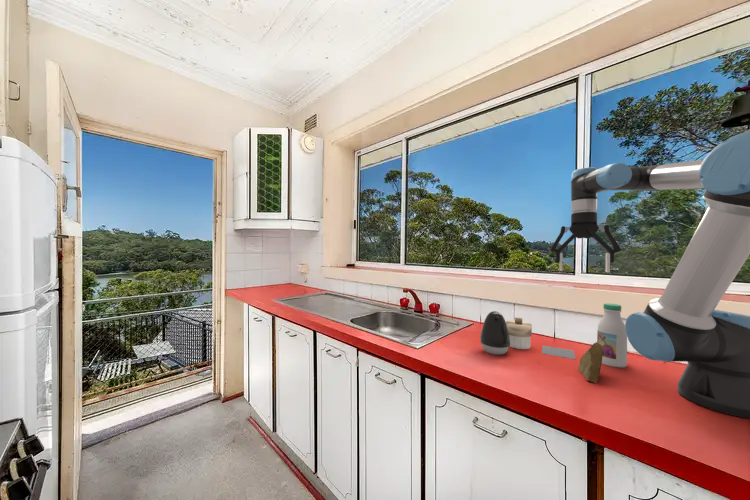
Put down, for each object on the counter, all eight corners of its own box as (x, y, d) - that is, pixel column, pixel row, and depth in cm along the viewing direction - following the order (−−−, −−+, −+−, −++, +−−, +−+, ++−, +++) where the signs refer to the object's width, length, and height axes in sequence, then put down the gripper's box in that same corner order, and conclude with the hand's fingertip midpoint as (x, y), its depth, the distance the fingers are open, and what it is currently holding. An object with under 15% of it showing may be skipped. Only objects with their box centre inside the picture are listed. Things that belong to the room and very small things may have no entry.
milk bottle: (615, 359, 98) (616, 302, 98) (633, 369, 90) (634, 307, 90) (591, 358, 99) (592, 301, 99) (607, 368, 91) (608, 306, 91)
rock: (608, 380, 77) (621, 367, 83) (585, 351, 81) (599, 340, 87) (573, 390, 85) (587, 377, 91) (554, 362, 89) (568, 352, 94)
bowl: (529, 351, 105) (529, 338, 105) (506, 347, 109) (506, 334, 109) (530, 345, 112) (530, 332, 112) (508, 341, 116) (508, 329, 116)
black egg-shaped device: (482, 356, 100) (482, 313, 100) (478, 346, 110) (478, 307, 110) (513, 359, 98) (513, 315, 98) (506, 348, 108) (507, 309, 108)
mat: (575, 360, 97) (575, 359, 97) (542, 354, 102) (542, 353, 102) (573, 351, 106) (573, 350, 106) (542, 346, 111) (542, 345, 111)
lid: (531, 338, 105) (531, 322, 105) (504, 334, 109) (504, 319, 109) (531, 332, 112) (532, 317, 112) (507, 329, 117) (507, 314, 117)
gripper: (626, 211, 99) (626, 272, 98) (543, 215, 111) (542, 269, 111) (632, 208, 92) (632, 273, 92) (543, 213, 104) (543, 270, 104)
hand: (583, 271), depth 101 cm, fingers open, 13 cm apart
